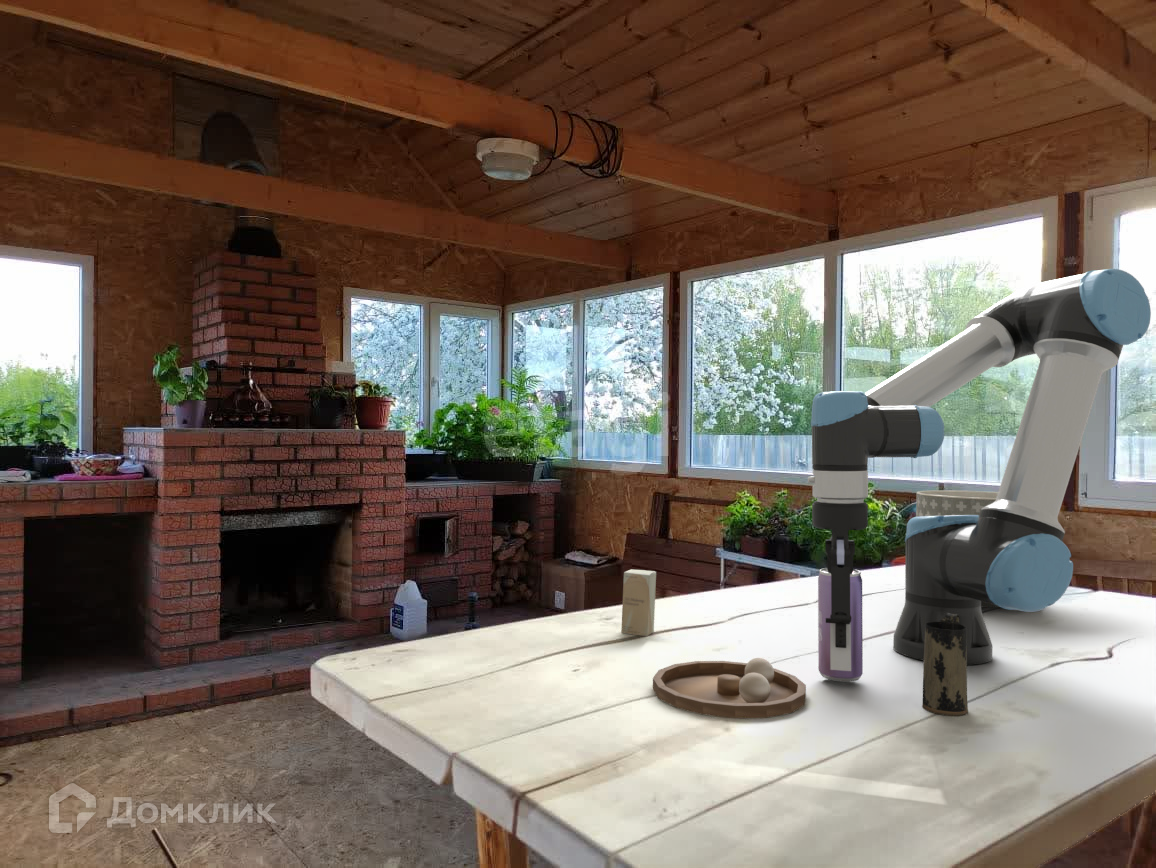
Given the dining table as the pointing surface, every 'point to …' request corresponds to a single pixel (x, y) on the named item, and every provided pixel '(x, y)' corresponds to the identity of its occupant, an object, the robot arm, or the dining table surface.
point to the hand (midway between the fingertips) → (840, 662)
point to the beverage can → (824, 628)
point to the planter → (953, 506)
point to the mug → (945, 667)
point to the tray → (704, 688)
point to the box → (638, 602)
